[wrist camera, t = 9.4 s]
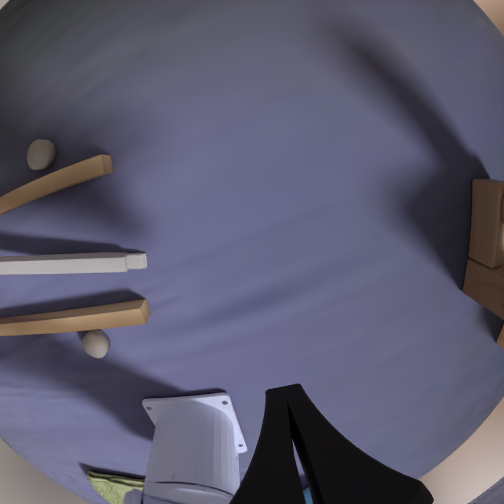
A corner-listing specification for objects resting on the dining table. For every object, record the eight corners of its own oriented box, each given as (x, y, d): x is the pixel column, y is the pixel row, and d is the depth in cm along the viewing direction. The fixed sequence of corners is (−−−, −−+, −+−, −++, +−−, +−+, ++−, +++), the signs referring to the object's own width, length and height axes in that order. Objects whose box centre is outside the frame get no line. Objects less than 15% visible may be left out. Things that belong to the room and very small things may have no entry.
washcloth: (165, 475, 27) (163, 494, 24) (195, 515, 32) (195, 530, 29) (82, 462, 26) (77, 478, 23) (127, 508, 31) (125, 521, 28)
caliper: (-29, 258, 17) (-69, 281, 11) (-31, 247, 17) (-72, 268, 11) (148, 265, 19) (117, 306, 13) (147, 250, 19) (114, 286, 13)
